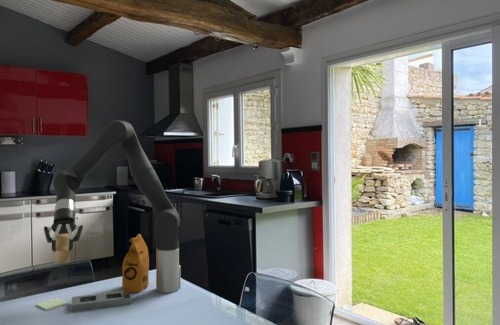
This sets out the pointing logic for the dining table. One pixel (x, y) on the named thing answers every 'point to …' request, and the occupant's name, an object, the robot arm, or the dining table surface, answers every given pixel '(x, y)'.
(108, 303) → the block with square holes
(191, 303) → the dining table surface
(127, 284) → the coffee package
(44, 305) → the mat
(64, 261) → the peg
